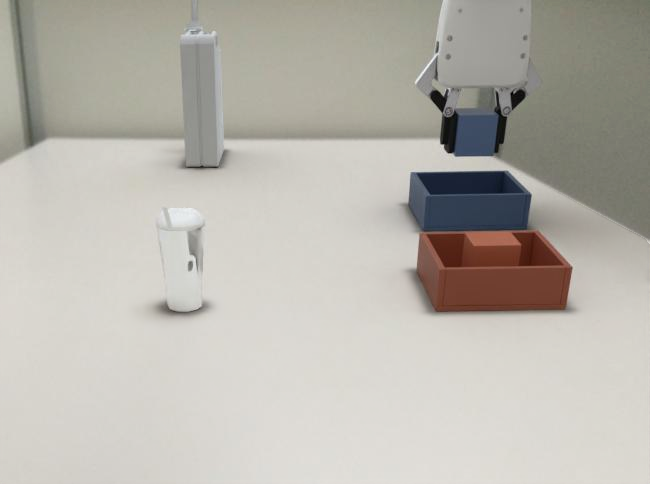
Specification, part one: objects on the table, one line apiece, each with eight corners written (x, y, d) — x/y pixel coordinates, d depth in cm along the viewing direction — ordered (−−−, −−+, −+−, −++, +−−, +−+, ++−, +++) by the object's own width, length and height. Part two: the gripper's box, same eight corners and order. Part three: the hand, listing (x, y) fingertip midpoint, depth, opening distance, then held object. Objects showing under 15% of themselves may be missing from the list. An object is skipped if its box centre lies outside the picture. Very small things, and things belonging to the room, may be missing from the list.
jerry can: (194, 146, 156) (186, -33, 143) (225, 146, 156) (220, -34, 142) (184, 167, 144) (174, -27, 130) (217, 167, 143) (211, -28, 130)
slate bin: (503, 203, 124) (507, 170, 121) (527, 229, 113) (532, 194, 111) (408, 204, 124) (410, 172, 122) (423, 231, 113) (425, 196, 111)
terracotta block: (504, 276, 98) (510, 231, 95) (515, 291, 94) (521, 244, 91) (460, 277, 98) (464, 232, 95) (468, 292, 94) (474, 245, 91)
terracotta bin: (533, 268, 101) (538, 230, 99) (565, 309, 91) (572, 267, 89) (416, 270, 101) (419, 232, 99) (435, 311, 91) (439, 269, 89)
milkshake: (149, 314, 91) (141, 205, 86) (173, 296, 96) (167, 191, 90) (192, 319, 90) (187, 209, 85) (215, 301, 94) (212, 195, 89)
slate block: (485, 148, 116) (490, 107, 114) (493, 156, 113) (498, 114, 110) (448, 148, 116) (452, 108, 114) (454, 156, 113) (459, 115, 110)
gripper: (559, -31, 108) (534, 143, 118) (407, -29, 108) (395, 145, 118) (578, -27, 101) (550, 157, 111) (417, -25, 101) (403, 158, 111)
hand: (470, 149), depth 114 cm, fingers closed on slate block, 4 cm apart
